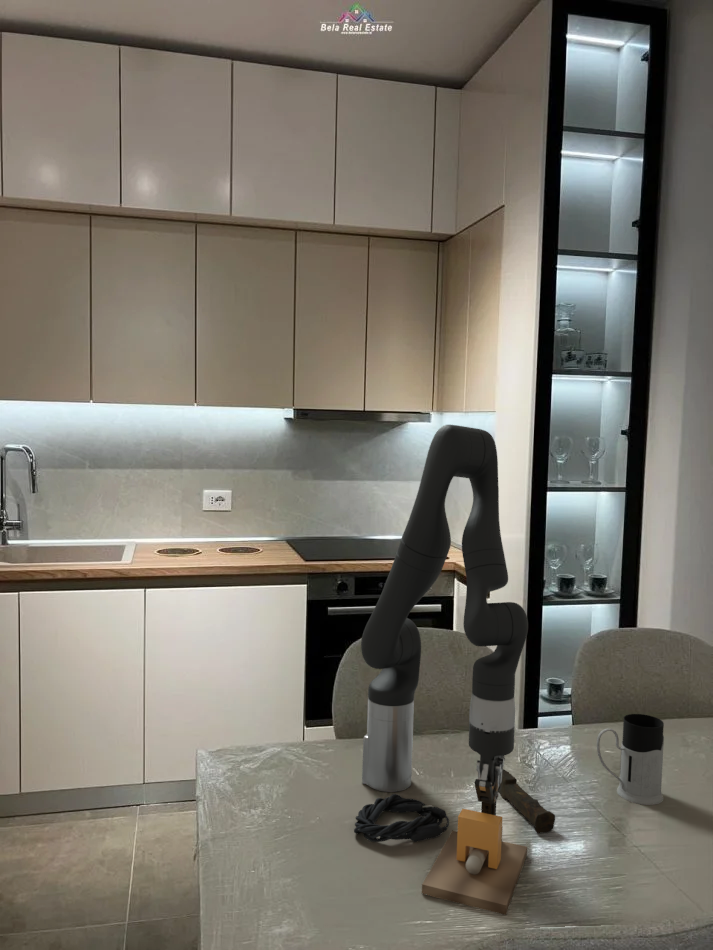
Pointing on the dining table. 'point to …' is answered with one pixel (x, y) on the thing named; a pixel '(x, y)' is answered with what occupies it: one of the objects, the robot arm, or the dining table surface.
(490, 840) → the notched block
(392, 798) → the cable
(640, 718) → the glass holder
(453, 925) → the dining table surface
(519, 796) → the dark brown tapered rod
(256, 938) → the dining table surface
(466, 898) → the wooden base plate
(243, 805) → the dining table surface
